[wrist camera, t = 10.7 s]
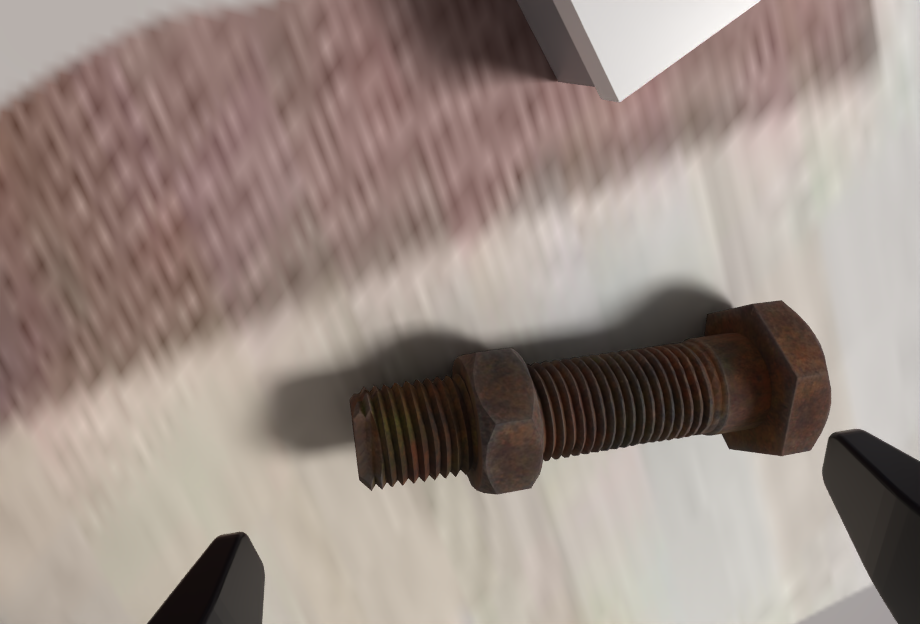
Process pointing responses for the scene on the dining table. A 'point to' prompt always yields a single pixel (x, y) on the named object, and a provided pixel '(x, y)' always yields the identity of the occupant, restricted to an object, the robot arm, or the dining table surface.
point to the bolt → (599, 403)
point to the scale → (623, 37)
